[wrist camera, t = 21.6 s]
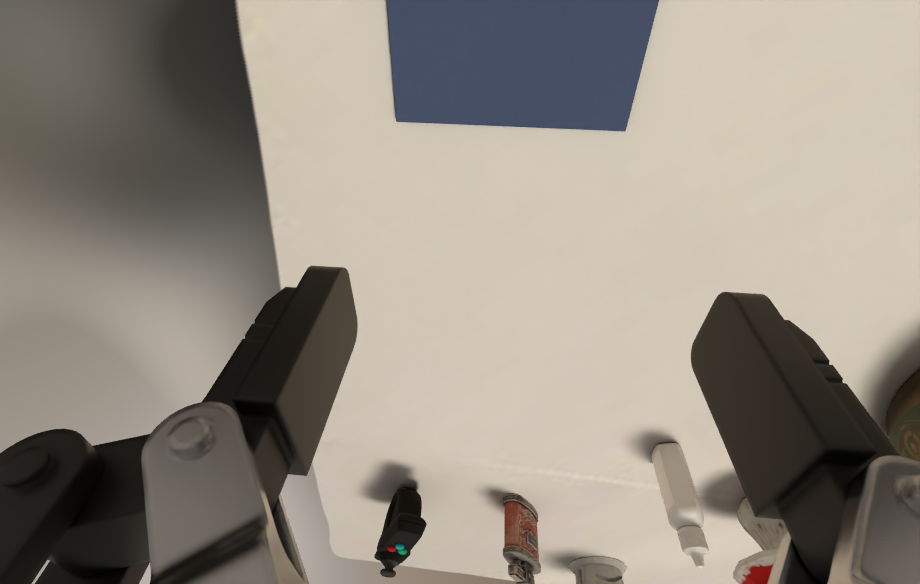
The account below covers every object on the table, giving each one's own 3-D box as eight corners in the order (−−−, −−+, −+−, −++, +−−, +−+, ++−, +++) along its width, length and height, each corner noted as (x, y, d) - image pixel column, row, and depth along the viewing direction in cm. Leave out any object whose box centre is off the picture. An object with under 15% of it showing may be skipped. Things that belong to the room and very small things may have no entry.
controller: (383, 503, 67) (367, 577, 59) (406, 466, 59) (391, 547, 51) (409, 509, 68) (397, 584, 60) (436, 475, 60) (425, 555, 52)
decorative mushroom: (855, 481, 52) (952, 637, 41) (791, 529, 61) (856, 667, 50) (738, 468, 53) (802, 619, 41) (691, 518, 62) (733, 653, 50)
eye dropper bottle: (637, 461, 54) (664, 572, 44) (662, 438, 50) (697, 552, 41) (670, 468, 54) (703, 579, 45) (697, 446, 50) (739, 561, 41)
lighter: (542, 516, 65) (547, 594, 58) (522, 519, 66) (524, 596, 59) (519, 492, 61) (521, 573, 53) (498, 496, 62) (496, 575, 55)
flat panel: (378, -128, 22) (376, -128, 21) (688, -124, 21) (690, -125, 20) (397, 119, 29) (396, 121, 29) (624, 129, 28) (625, 131, 28)
